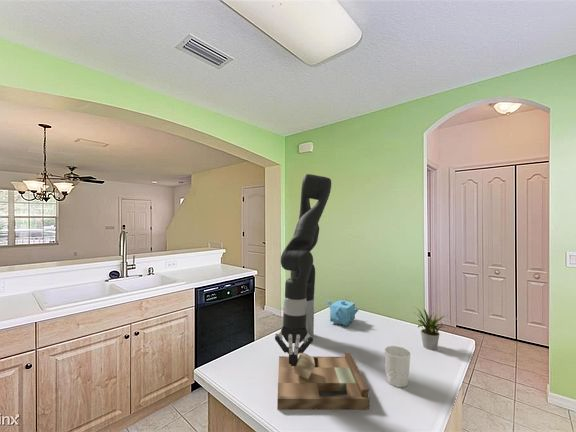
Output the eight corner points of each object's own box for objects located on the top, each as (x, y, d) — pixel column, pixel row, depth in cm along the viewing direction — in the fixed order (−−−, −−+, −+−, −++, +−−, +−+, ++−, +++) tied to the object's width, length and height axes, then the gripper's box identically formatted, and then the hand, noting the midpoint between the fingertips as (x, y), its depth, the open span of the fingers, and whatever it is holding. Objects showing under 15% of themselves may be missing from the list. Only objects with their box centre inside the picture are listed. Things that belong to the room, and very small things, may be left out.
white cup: (408, 377, 96) (409, 348, 96) (411, 390, 88) (411, 359, 88) (384, 373, 98) (384, 344, 98) (384, 385, 91) (384, 354, 91)
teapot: (353, 331, 134) (353, 307, 134) (319, 323, 144) (319, 301, 144) (363, 321, 147) (363, 299, 147) (332, 314, 157) (332, 294, 157)
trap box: (277, 409, 79) (277, 391, 79) (279, 364, 103) (279, 350, 103) (369, 409, 79) (369, 391, 79) (349, 364, 103) (349, 351, 103)
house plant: (401, 344, 121) (401, 306, 121) (418, 336, 129) (418, 300, 129) (435, 357, 109) (435, 315, 109) (451, 348, 117) (452, 309, 117)
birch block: (293, 372, 88) (300, 358, 88) (293, 364, 93) (300, 350, 93) (307, 379, 88) (315, 365, 88) (306, 371, 93) (313, 357, 93)
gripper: (314, 308, 95) (312, 360, 95) (275, 306, 95) (273, 358, 95) (316, 315, 88) (314, 372, 87) (274, 314, 88) (271, 370, 87)
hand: (292, 365), depth 91 cm, fingers closed
